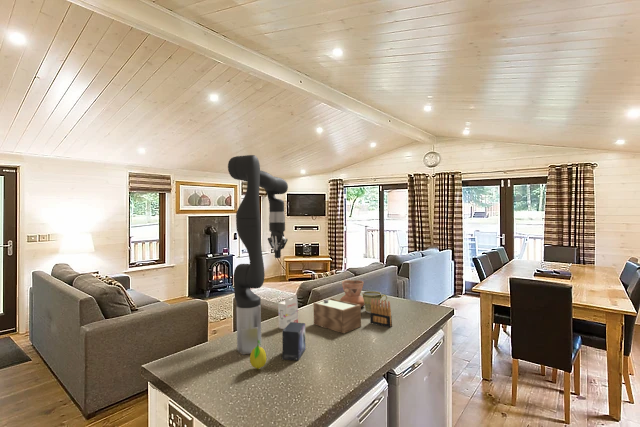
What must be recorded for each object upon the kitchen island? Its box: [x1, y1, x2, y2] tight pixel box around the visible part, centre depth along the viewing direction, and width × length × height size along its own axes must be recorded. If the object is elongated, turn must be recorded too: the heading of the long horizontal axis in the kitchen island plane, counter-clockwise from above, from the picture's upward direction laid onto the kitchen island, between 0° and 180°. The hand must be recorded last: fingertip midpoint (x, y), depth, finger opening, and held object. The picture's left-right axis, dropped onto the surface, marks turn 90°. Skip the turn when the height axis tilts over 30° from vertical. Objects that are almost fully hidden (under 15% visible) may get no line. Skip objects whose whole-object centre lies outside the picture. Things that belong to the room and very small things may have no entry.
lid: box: [316, 299, 356, 310], centre depth 157 cm, size 18×10×2 cm, turn 45°
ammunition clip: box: [369, 298, 393, 328], centre depth 156 cm, size 11×2×12 cm, turn 50°
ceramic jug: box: [339, 279, 365, 308], centre depth 189 cm, size 18×14×14 cm
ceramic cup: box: [361, 290, 388, 314], centre depth 177 cm, size 13×10×10 cm
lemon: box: [249, 340, 267, 370], centre depth 113 cm, size 7×6×10 cm
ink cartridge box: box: [277, 294, 299, 330], centre depth 156 cm, size 9×5×15 cm, turn 143°
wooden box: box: [313, 298, 362, 334], centre depth 157 cm, size 19×12×10 cm, turn 45°
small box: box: [281, 322, 306, 362], centre depth 125 cm, size 11×6×10 cm, turn 168°
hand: (277, 257), depth 158 cm, fingers closed
